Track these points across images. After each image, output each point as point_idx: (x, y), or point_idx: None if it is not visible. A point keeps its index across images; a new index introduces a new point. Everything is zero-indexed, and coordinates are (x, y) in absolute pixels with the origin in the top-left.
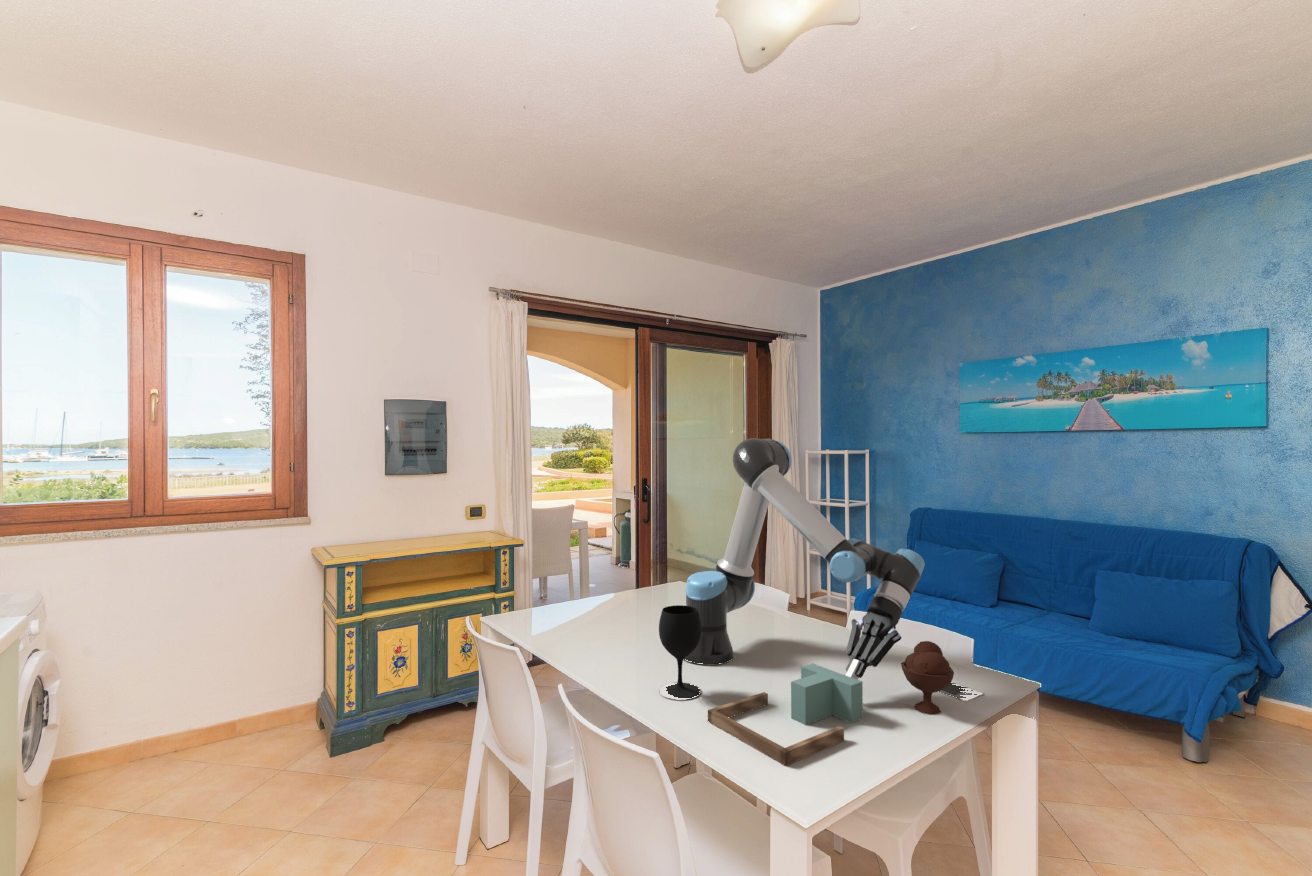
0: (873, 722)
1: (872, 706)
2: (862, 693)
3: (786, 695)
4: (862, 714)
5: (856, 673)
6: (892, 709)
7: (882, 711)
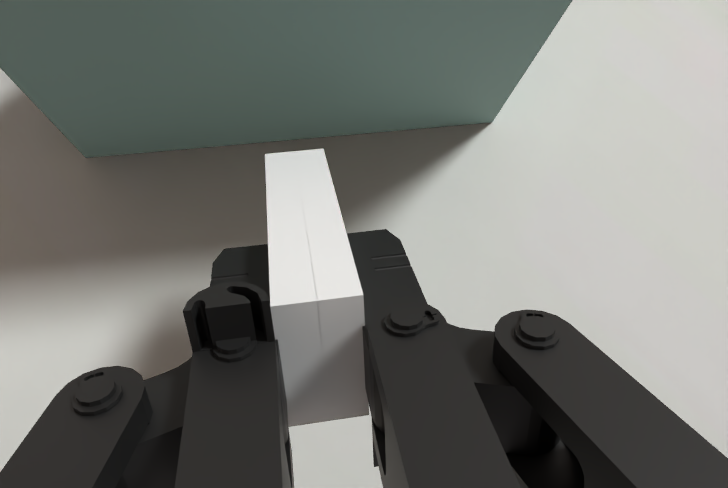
0: (2, 169)
1: (176, 366)
2: (3, 69)
3: (575, 8)
4: (75, 144)
5: (249, 248)
6: None
7: (76, 362)
